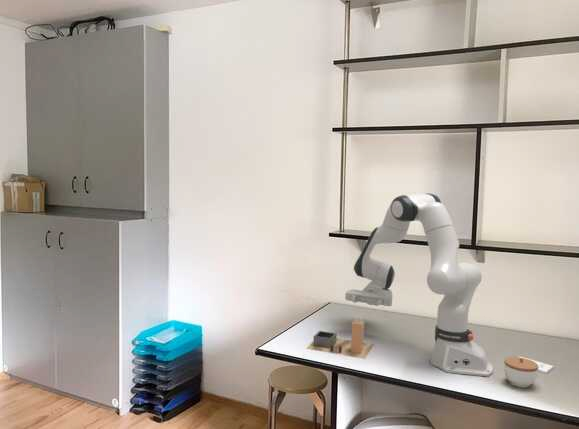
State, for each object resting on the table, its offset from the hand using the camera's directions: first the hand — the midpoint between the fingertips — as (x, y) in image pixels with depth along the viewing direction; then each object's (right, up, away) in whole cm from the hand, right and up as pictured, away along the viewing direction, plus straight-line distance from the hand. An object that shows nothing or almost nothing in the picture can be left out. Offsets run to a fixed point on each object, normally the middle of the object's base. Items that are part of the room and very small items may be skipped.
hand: (365, 302), depth 203 cm
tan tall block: (-5, -18, -10) cm, 21 cm away
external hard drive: (+62, -22, -17) cm, 68 cm away
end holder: (-17, -17, -3) cm, 24 cm away
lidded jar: (+49, -23, -33) cm, 64 cm away
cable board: (-11, -18, -5) cm, 22 cm away
